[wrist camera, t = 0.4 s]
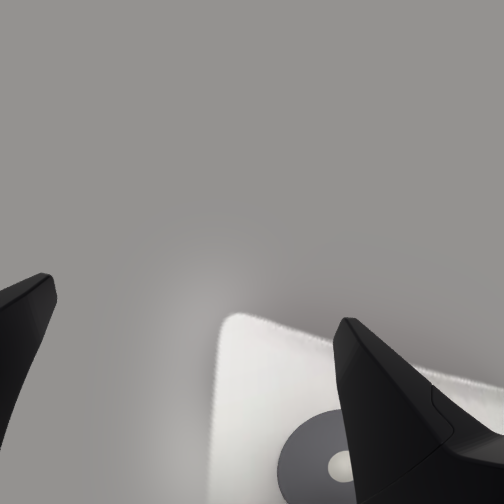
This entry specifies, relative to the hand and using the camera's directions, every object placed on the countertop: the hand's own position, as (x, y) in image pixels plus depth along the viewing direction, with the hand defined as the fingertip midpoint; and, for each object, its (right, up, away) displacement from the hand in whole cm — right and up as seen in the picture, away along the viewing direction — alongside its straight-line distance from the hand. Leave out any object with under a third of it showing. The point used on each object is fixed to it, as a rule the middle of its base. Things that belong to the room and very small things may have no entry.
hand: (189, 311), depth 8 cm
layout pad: (+8, -13, +7) cm, 17 cm away
